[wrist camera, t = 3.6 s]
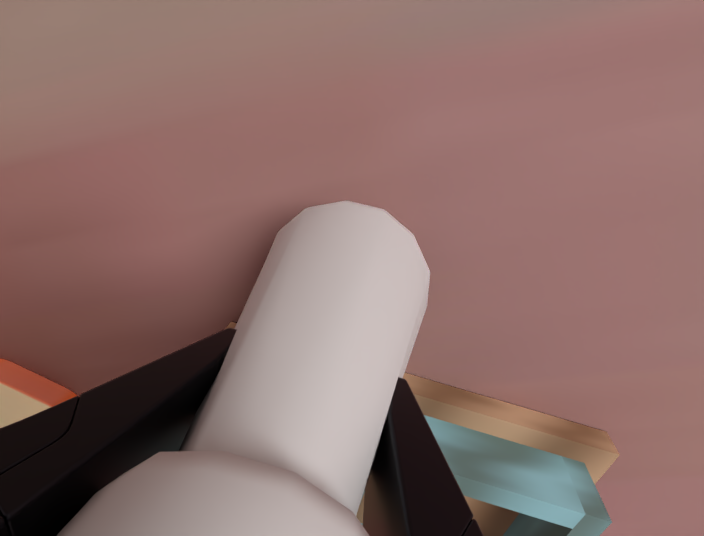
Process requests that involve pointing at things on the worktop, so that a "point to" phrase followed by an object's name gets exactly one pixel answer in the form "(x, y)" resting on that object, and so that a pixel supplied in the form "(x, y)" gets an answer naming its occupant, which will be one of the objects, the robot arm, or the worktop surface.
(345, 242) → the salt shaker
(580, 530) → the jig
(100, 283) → the worktop surface
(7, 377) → the crank mechanism
